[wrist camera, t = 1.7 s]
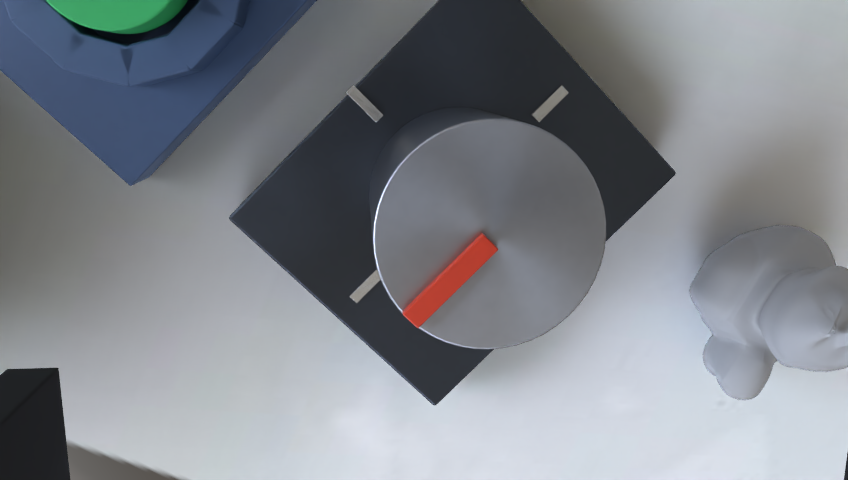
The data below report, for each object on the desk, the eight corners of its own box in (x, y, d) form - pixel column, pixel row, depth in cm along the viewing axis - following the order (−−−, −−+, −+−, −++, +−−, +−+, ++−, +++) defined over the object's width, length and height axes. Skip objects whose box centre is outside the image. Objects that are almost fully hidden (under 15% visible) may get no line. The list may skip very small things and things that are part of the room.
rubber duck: (832, 250, 31) (994, 310, 23) (746, 390, 32) (872, 493, 24) (721, 189, 30) (850, 230, 22) (635, 335, 31) (730, 424, 23)
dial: (458, 69, 25) (497, 66, 18) (578, 194, 27) (658, 238, 19) (332, 197, 26) (322, 243, 19) (455, 314, 27) (489, 399, 20)
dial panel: (468, -35, 27) (480, -47, 25) (653, 167, 29) (681, 176, 27) (236, 204, 28) (224, 217, 26) (430, 382, 30) (437, 411, 28)
